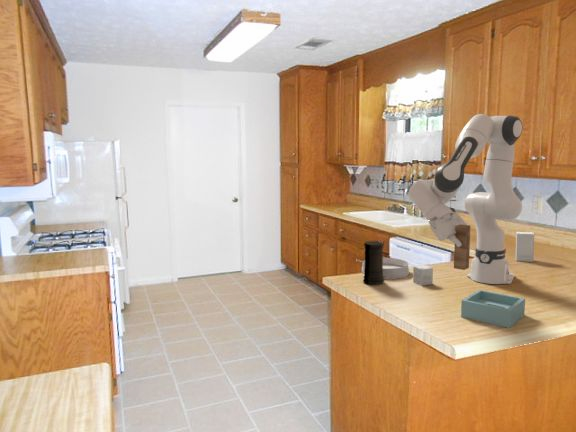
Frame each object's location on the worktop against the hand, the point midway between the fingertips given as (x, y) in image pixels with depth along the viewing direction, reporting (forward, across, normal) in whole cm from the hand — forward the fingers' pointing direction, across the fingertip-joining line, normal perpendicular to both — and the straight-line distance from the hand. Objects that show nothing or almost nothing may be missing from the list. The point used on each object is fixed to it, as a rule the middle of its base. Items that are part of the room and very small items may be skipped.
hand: (463, 244), depth 168 cm
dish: (-16, +22, +50) cm, 57 cm away
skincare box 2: (+14, +88, +19) cm, 91 cm away
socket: (+25, -4, +8) cm, 27 cm away
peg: (+6, 0, +7) cm, 9 cm away
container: (-13, +4, +46) cm, 48 cm away
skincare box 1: (-1, +17, +34) cm, 38 cm away
